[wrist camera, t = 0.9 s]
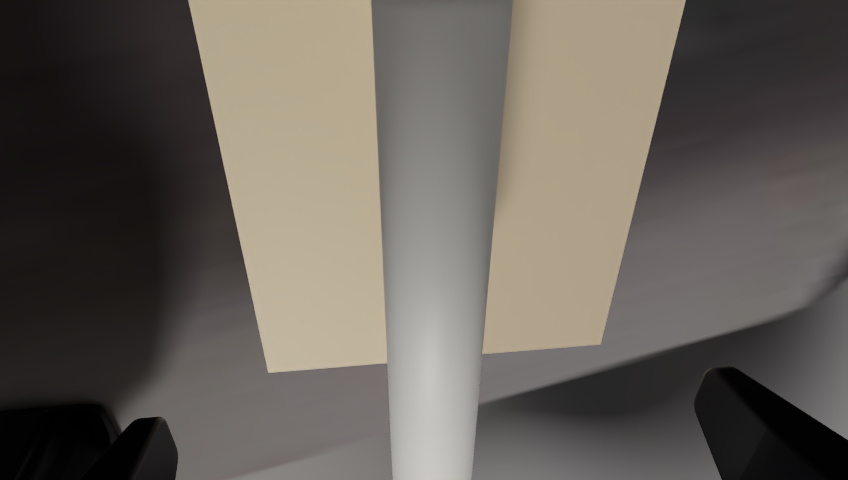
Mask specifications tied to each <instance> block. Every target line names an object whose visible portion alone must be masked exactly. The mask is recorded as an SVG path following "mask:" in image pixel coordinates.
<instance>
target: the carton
mask: <svg viewBox="0 0 848 480" xmlns="http://www.w3.org/2000/svg"><path fill="white" fill-rule="evenodd" d="M685 1H686V0H513V8H512V19H511V31H510V42H509V54H508V65H507V77H506V88H505V100H504V111H503V123H502V134H501V146H500V157H499V168H498V180H497V191H496V203H495V214H494V226H493V237H492V249H491V260H490V272H489V283H488V294H487V306H486V317H485V329H484V340H483V352H482V354H490V353H502V352H514V351H526V350H538V349H550V348H562V347H575V346H587V345H599V344H601V340H602V336H603V332H604V328H605V324H606V320H607V316H608V312H609V308H610V304H611V300H612V296H613V292H614V288H615V284H616V280H617V276H618V272H619V268H620V264H621V260H622V256H623V252H624V248H625V243H626V239H627V235H628V231H629V227H630V223H631V219H632V215H633V211H634V207H635V203H636V199H637V195H638V191H639V187H640V183H641V179H642V175H643V171H644V167H645V163H646V159H647V155H648V151H649V147H650V143H651V138H652V134H653V130H654V126H655V122H656V118H657V114H658V110H659V106H660V102H661V98H662V94H663V90H664V86H665V82H666V78H667V74H668V70H669V66H670V62H671V58H672V54H673V50H674V46H675V42H676V37H677V33H678V29H679V25H680V21H681V17H682V13H683V9H684V5H685Z"/></svg>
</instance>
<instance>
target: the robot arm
mask: <svg viewBox="0 0 848 480" xmlns="http://www.w3.org/2000/svg"><path fill="white" fill-rule="evenodd" d="M694 409H695V412H696V416H697V418H698V421H699V423H700V426H701V428H702V431H703V433H704V436H705V438H706V441H707V443H708V446H709V448H710V451H711V453H712V456H713V459H714V461H715V464H716V466H717V468H718V471H719V474H720V476H721V479H722V480H848V440H847V439H845V438H844V437H842V436H841V435H839V434H837V433H836V432H834V431H832V430H831V429H830V428H828V427H827V426H825V425H823V424H822V423H820V422H819V421H817V420H816V419H814V418H812V417H811V416H810V415H808V414H806V413H805V412H803V411H802V410H800V409H799V408H797V407H796V406H794V405H792V404H791V403H789V402H788V401H786V400H785V399H783V398H782V397H780V396H779V395H777V394H776V393H774V392H772V391H771V390H769V389H768V388H766V387H765V386H763V385H762V384H760V383H758V382H757V381H755V380H754V379H752V378H751V377H749V376H748V375H746V374H745V373H743V372H741V371H740V370H738V369H736V368H734V367H730V366H726V367H714V368H710V369H708V370H707V371H706V373H705V374H704V377H703V379H702V381H701V384H700V387H699V389H698V392H697V394H696V396H695V399H694ZM177 463H178V452H177V448H176V445H175V442H174V440H173V437H172V435H171V432H170V430H169V427H168V425H167V422H166V420H165V419H164V418H162V417H150V418H140V419H137V420H135V421H133V422H132V423H131V424H130V425H129V426H128V427H127V428H126V429H125V430H124V431H123V432H122V433H121V434H120V435H119V437H117V435H116V433H115V431H114V429H113V427H112V425H111V422H110V420H109V418H108V416H107V414H106V412H105V410H104V409H103V407H101V406H99V405H96V404H81V405H69V406H57V407H45V408H34V409H22V410H10V411H0V480H175V477H176V471H177Z"/></svg>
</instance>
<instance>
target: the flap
mask: <svg viewBox="0 0 848 480" xmlns="http://www.w3.org/2000/svg"><path fill="white" fill-rule="evenodd" d="M188 1H189V5H190V10H191V15H192V19H193V24H194V29H195V33H196V38H197V43H198V47H199V52H200V57H201V61H202V66H203V71H204V75H205V80H206V85H207V89H208V94H209V99H210V103H211V108H212V112H213V117H214V122H215V126H216V131H217V136H218V140H219V145H220V150H221V154H222V159H223V164H224V168H225V173H226V178H227V182H228V187H229V192H230V196H231V201H232V206H233V210H234V215H235V220H236V224H237V229H238V234H239V238H240V243H241V248H242V252H243V257H244V262H245V266H246V271H247V276H248V280H249V285H250V290H251V294H252V299H253V304H254V308H255V313H256V318H257V322H258V327H259V332H260V336H261V341H262V346H263V350H264V355H265V360H266V364H267V369H268V373H273V372H285V371H297V370H309V369H321V368H333V367H345V366H357V365H369V364H382V363H387V366H388V388H389V411H390V433H391V455H392V477H393V480H471V478H472V466H473V454H474V442H475V432H476V420H477V409H478V398H479V386H480V375H481V363H482V352H483V340H484V329H485V317H486V306H487V294H488V283H489V272H490V260H491V249H492V237H493V226H494V214H495V203H496V191H497V180H498V168H499V157H500V146H501V134H502V123H503V111H504V100H505V88H506V77H507V65H508V54H509V42H510V31H511V19H512V8H513V0H188Z"/></svg>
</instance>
